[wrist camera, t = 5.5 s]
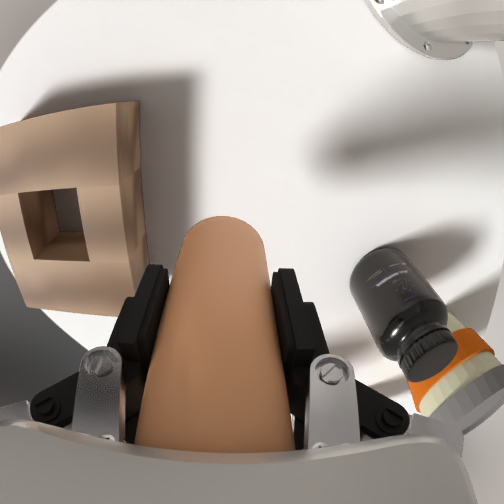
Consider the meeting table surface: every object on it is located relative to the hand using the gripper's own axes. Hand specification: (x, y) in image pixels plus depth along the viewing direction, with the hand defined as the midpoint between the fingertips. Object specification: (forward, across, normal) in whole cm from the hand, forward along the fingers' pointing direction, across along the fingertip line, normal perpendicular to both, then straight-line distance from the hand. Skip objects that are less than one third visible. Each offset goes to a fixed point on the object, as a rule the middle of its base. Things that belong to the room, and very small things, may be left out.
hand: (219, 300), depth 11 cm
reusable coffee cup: (+13, -27, +18) cm, 35 cm away
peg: (+3, 0, 0) cm, 3 cm away
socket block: (+13, +13, +1) cm, 18 cm away
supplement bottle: (+13, -15, +8) cm, 22 cm away
